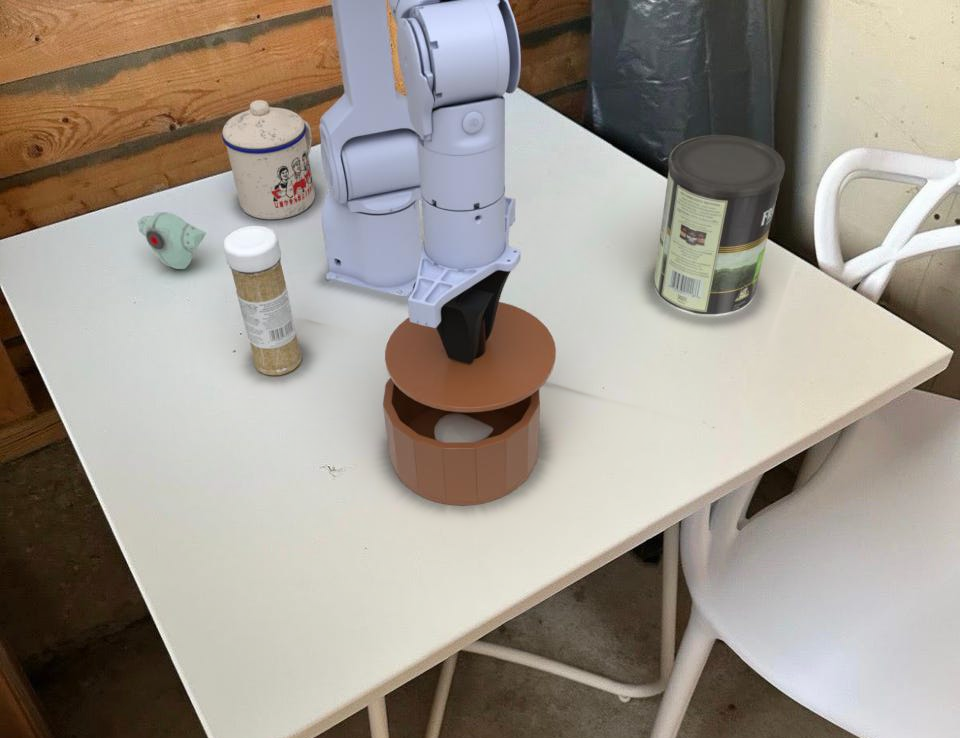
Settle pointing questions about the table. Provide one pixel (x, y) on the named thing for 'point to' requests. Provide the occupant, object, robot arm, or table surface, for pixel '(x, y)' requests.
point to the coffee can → (716, 223)
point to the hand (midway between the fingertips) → (468, 347)
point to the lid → (473, 363)
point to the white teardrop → (461, 429)
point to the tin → (461, 450)
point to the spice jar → (263, 298)
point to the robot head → (171, 238)
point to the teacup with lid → (270, 161)
